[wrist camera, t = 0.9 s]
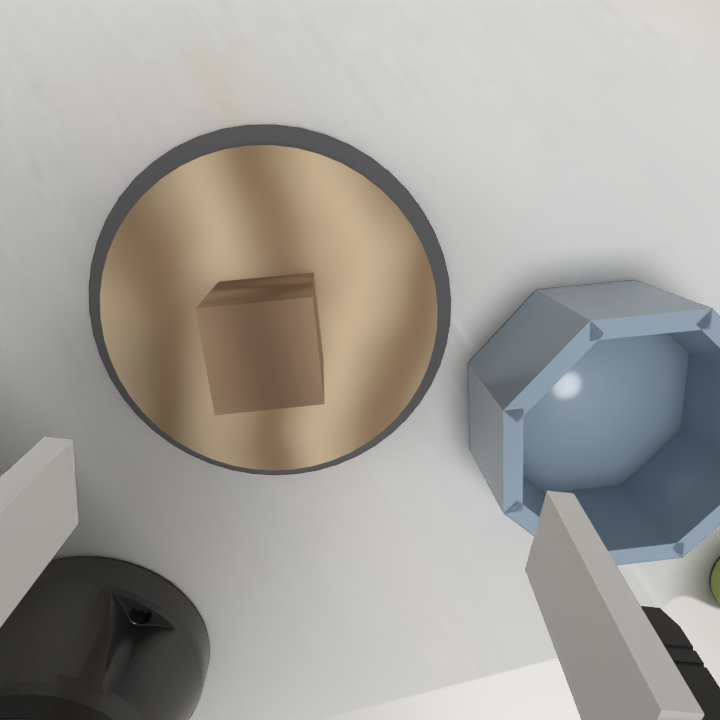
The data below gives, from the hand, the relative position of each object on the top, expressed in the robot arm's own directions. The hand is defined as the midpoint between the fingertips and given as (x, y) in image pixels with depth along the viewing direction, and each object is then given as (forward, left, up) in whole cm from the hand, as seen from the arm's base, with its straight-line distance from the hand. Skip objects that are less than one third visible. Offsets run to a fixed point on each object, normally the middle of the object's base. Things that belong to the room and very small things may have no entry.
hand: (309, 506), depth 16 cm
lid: (-2, +1, -18) cm, 18 cm away
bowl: (+16, -6, -18) cm, 25 cm away
